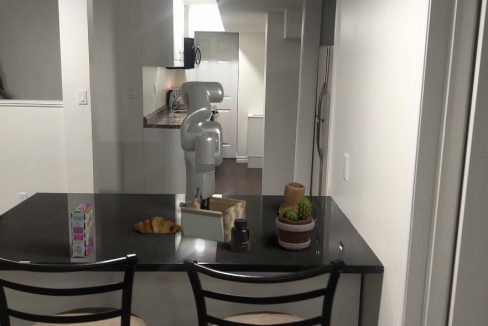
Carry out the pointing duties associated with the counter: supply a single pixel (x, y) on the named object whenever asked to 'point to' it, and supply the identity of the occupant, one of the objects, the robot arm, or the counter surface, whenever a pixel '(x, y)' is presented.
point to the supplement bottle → (240, 236)
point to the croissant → (157, 226)
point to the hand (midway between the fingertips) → (204, 215)
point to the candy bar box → (82, 230)
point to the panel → (202, 224)
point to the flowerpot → (295, 226)
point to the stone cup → (292, 196)
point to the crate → (229, 212)
